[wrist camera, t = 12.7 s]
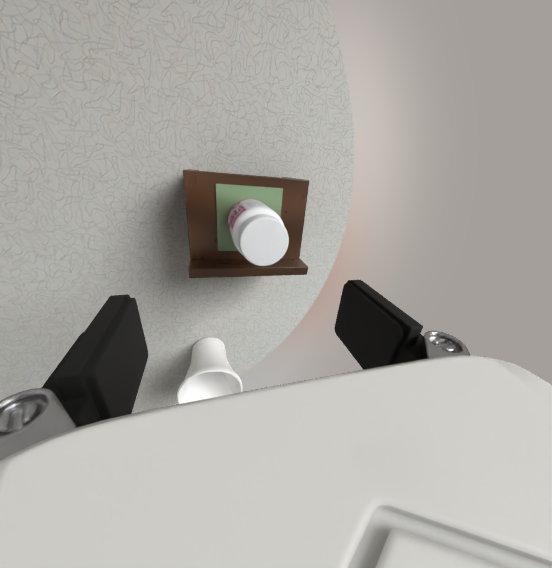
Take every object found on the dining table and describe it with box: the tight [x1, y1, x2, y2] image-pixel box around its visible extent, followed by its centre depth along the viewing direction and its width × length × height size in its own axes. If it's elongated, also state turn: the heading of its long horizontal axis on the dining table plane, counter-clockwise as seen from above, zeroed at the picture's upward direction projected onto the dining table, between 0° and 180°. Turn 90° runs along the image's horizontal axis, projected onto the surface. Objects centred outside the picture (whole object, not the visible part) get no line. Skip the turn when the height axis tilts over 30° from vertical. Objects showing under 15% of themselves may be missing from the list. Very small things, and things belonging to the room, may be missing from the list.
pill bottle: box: [228, 199, 289, 266], centre depth 22 cm, size 5×5×8 cm
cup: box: [177, 337, 242, 404], centre depth 36 cm, size 9×9×10 cm
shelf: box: [183, 169, 309, 278], centre depth 28 cm, size 10×13×10 cm
